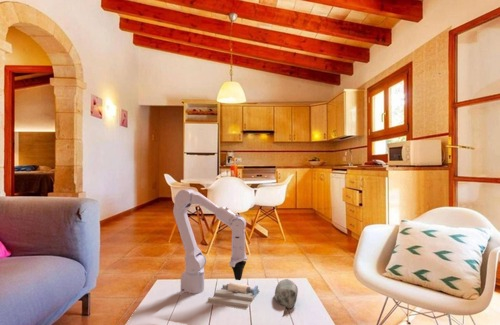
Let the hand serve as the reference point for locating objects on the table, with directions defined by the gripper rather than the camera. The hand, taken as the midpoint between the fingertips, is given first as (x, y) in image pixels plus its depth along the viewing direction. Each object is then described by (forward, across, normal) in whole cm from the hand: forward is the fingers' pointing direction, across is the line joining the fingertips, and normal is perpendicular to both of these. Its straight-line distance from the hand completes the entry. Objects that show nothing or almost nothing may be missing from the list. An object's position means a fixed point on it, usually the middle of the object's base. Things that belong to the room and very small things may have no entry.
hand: (238, 279), depth 124 cm
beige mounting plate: (+7, -4, 0) cm, 8 cm away
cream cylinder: (+6, 0, 0) cm, 6 cm away
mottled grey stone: (+7, +1, -20) cm, 21 cm away
